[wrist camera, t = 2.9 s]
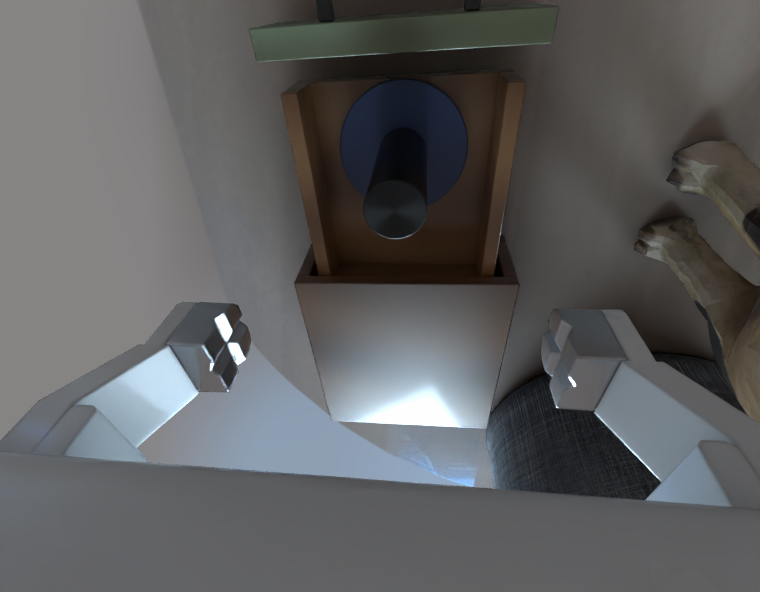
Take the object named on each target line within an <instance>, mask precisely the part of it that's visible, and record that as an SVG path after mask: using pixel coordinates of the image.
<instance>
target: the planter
mask: <svg viewBox="0 0 760 592" xmlns="http://www.w3.org/2000/svg"><path fill="white" fill-rule="evenodd" d="M651 354H652V355H653V357H654V359H655V360H656V362H665V363H666V364H668V365H669V366H671V367H672V368H674V369H675V370H677V371H679V372H680V373H682V374H683V375H685V376H686V377H688V378H690V379H691V380H693V381H694V382H696V383H697V384H699V385H700V386H702V387H704V388H705V389H707V390H708V391H710V392H711V393H713V394H715V395H716V396H718V397H719V398H721V399H722V400H724V401H726V402H727V403H729V404H730V405H732V406H733V407H735V408H736V409H738V410H740V411H741V412H743V413H744V414H746V412H745V410H744V409H743V408H742V406H741V405H740V403H739V402H738V400H737V398H736V397H735V395H734V394H733V392H732V391H731V389H730V387H729V386H728V384H727V382H726V381H725V379H724V377H723V376H722V374H721V371H720V369H719V367H718V364H717V363H715V362H711V361H708V360H704V359H700V358H696V357H690V356H684V355H675V354H660V353H651ZM551 379H552V376H550V375H549V374H548V373H547V374H545V375H543V376H540V377H538V378H536V379H534V380H532V381H530V382H529V383H527V384H525V385H523V386H522V387H520V388H519V389H517V390H516V391H514V392H513V393H512V394H511V395H509V396H508V397H507V398H506V399H505V400H504V401H503V402H502V403H501V404H500V405H499V406H498V407H497V408H496V410H495V411H494V412H493V414H492V416H491V418H490V420H489V422H488V426H487V430H486V439H487V445H488V451H489V457H490V464H491V471H492V480H493V489H505V490H518V491H531V492H544V493H558V494H571V495H584V496H597V497H610V498H624V499H637V500H646V499H647V497H648V496H649V495H650V494H651V493H652V492H653V491H654V490H655V489H656V488H657V486H658V485H659V484H660V483H661V481H660V480H659V479H658V478H657V477H656V476H655V475H654V474H653V473H652V472H651V471H650V470H649V469H648V468H647V467H646V466H645V465H644V464H643V463H642V462H641V461H640V460H639V459H638V458H637V457H636V456H635V455H634V454H633V453H632V451H631V450H630V449H629V448H628V447H627V446H626V445H625V444H624V443H623V442H622V441H621V440H620V439H619V438H618V437H617V436H616V435H615V434H614V433H613V432H612V431H611V430H610V429H609V428H608V427H607V426H606V425H605V424H604V423H603V422H602V421H601V420H600V419H599V418H598V417H597V416H596V414H595V413H594V412H595V411H583V410H570V409H557V408H556V405H555V402H554V399H553V396H552V393H551V389H550V386H549V384H550V382H551ZM746 415H747V414H746ZM747 416H748V415H747Z"/></svg>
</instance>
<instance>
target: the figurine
mask: <svg viewBox="0 0 760 592" xmlns="http://www.w3.org/2000/svg"><path fill="white" fill-rule="evenodd" d="M672 160H673V165H674V168H673V170H672V171H671V173H670V175H669V176H668V178H667V180H666V181H667V182H669V183H671V184H673V185H675V186H676V187H677V188H678V189H679V190H681V191H682V192H684V193H690V194H704V195H706V196H709V197H710V199H711V200H712V201H713V202H714V203H715V204H716V205H717V207H718V208H719V210H720V211H721V213H722V214H723V215H724V217H725V218H726V219H727V220H728V221H729V222H730V223H731V224H732V225H733V227H734V228H735V229H736V231H737V232H738V234H739V235H740V236H741V238H742V239H743V241H744V242H745V243H746V244H747V245H748V246H749V247H750V248H751V249H752V250H753V251H754V253H755V254H756V255H757V256H758V257H759V259H760V169H759V168H758V167H757V166H756V165H755V164H754V163H752V162H751V161H750V160H749V159H748V158H747V157H746V156H745V155H744V153H743V152H742V151H741V150H740V149H739V147H738V146H737V145H736V144H734V143H731V142H728V141H726V140H725V141H706V142H700V143H697V144H695V145H692V146H690V147H688V148H685V149H683V150H680V151H677V152H675V153H673V157H672ZM638 237H639V238H640V240H639V241H638V242H637V243H635V245H634V250H635V251H637V252H639V253H641V254H643V255H646V256H648V257H650V258H652V259H656V260H659V261H663V262H666V263H667V265H668V266H669V267H670V268H671V269H672V270H673V271H674V273H675V274H676V275H677V276H678V277H679V279H680V280H681V282H682V283H683V285H684V286H685V288H686V289H687V291H688V293H689V294H690V296H691V298H692V299H693V301H694V303H695V305H696V306H697V308H698V309H699V311H700V312H701V313H702V315H703V316H704V317H705V319H706V320H707V322H708V328H709V335H710V341H711V345H712V349H713V352H714V356H715V359H716V362H717V364H718V367H719V369H720V371H721V374H722V376H723V377H724V379H725V381H726V382H727V384H728V386H729V387H730V389H731V391H732V392H733V394H734V395H735V397H736V398H737V400H738V402H739V403H740V405H741V406H742V408H743V409H744V410H745V412H746V414H747V415H748V416H749V417H751V418H752V419H754V420H755V421H757V422H758V423H760V286H755V285H753V284H752V283H750V282H749V281H748V280H746V279H745V278H744V277H743V276H741V275H740V274H739V273H738V272H737V271H735V270H734V269H733V268H731V267H730V266H729V265H728V264H727V263H725V262H724V260H723V259H722V258H721V257H720V256H719V255H718V254H717V253H716V252H715V251H714V250H713V249H712V248H711V247H710V245H709V244H708V243H707V242H706V241H705V239H704V238H703V237H702V236H701V235H700V234H699V233H698V230H697V226H696V223H695V219H692V218H685V217H679V218H669V219H664V220H659V221H656V222H654V223H652V224H649V225H647V226H645V227H644V228H642V229H641V230H640V232H639V235H638Z"/></svg>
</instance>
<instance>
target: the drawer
mask: <svg viewBox="0 0 760 592" xmlns="http://www.w3.org/2000/svg"><path fill="white" fill-rule="evenodd" d="M480 5H481V0H464V8H462V9H448V10H435V11H422V12H409V13H396V14H383V15H369V16H356V17H343V18H335V17H334V8H333V0H316V6H317V13H318V19H317V20H304V21H291V22H277V23H273V24H268V25H263V26H259V27H254V28H250V29H249V32H250V36H251V40H252V44H253V49H254V53H255V57H256V61H257V62H268V61H283V60H299V59H315V58H330V57H346V56H362V55H377V54H393V53H409V52H424V51H440V50H456V49H471V48H487V47H503V46H519V45H534V44H550V43H552V42H553V37H554V32H555V27H556V21H557V16H558V11H559V6H558V5H551V4H541V3H527V4H514V5H501V6H488V7H480ZM395 78H414V79H420V80H423V81H426V82H429V83H431V84H433V85H435V86H437V87H438V88H440V89H441V90H442V91H444V92H445V93H446V94H447V95H448V96H449V97H450V98H451V99H452V100H453V102H454V103H455V104H456V106H457V107H458V109H459V111H460V113H461V115H462V117H463V120H464V122H465V126H466V130H467V137H468V152H467V158H466V162H465V165H464V168H463V170H462V173H461V175H460V177H459V178H458V180H457V182H456V183H455V184H454V186H453V187H452V188H451V189H450V190H449V191H448V192H447V193H446V194H445V195H444V196H443V197H442V198H440V199H439V200H437V201H436V202H434V203H432V204H430V205H428V206H427V216H426V219H425V222H424V224H423V225H422V227H421V228H420V229H419V230H418V231H417V232H415V233H414V234H412V235H410V236H408V237H405V238H401V239H391V238H386V237H383V236H381V235H379V234H377V233H376V232H374V231H373V230H372V229H371V228H370V227H369V225H368V224H367V222H366V220H365V218H364V214H363V203H364V199H365V197H364V196H363V195H361V194H360V193H359V192H358V191H357V190H356V188H355V187H354V186H353V185H352V183H351V182H350V180H349V178H348V177H347V174H346V172H345V170H344V167H343V164H342V160H341V155H340V136H341V131H342V127H343V124H344V121H345V119H346V116H347V114H348V112H349V111H350V109H351V108H352V106H353V105H354V103H355V102H356V101H357V100H358V98H359V97H360V96H361V95H362V94H364V93H365V92H366V91H367V90H368V89H370V88H372V87H373V86H375V85H377V84H379V83H381V82H383V81H387V80H390V79H395ZM525 87H526V81H525V80H524V79H523V78H522V77H521V76H520V75H518V74H517V73H516V72H515V70H513V69H495V70H478V71H460V72H443V73H425V74H408V75H390V76H373V77H355V78H338V79H320V80H302V81H298V82H297V83H295V84H294V85H293V86H291V87H290V88H289V89H287V90H286V91H284V92H283V93H282V94H281V99H282V104H283V109H284V113H285V118H286V123H287V127H288V132H289V137H290V142H291V146H292V151H293V156H294V161H295V165H296V170H297V175H298V179H299V184H300V189H301V194H302V198H303V203H304V208H305V213H306V217H307V222H308V227H309V231H310V236H311V241H312V246H313V250H314V255H315V260H316V265H317V269H318V274H319V276H429V277H494V271H495V265H496V260H497V254H498V248H499V242H500V236H501V230H502V224H503V218H504V212H505V206H506V200H507V194H508V188H509V182H510V176H511V170H512V164H513V158H514V153H515V147H516V141H517V135H518V129H519V123H520V117H521V111H522V105H523V99H524V93H525Z"/></svg>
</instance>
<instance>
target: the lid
mask: <svg viewBox="0 0 760 592" xmlns="http://www.w3.org/2000/svg"><path fill="white" fill-rule="evenodd" d="M467 152H468V137H467V130H466V126H465V122H464V120H463V117H462V115H461V113H460V111H459V109H458V107H457V106H456V104H455V103H454V102H453V100H452V99H451V98H450V97H449V96H448V95H447V94H446V93H445V92H444V91H442V90H441V89H440V88H438V87H437V86H435V85H433V84H431V83H429V82H426V81H423V80H420V79H414V78H395V79H390V80H387V81H383V82H381V83H379V84H377V85H375V86H373V87H372V88H370V89H368V90H367V91H366V92H365V93H364V94H362V95H361V96H360V97H359V98H358V100H357V101H356V102H355V103H354V105H353V106H352V108H351V109H350V111H349V112H348V114H347V116H346V119H345V121H344V124H343V127H342V131H341V136H340V155H341V160H342V164H343V167H344V170H345V172H346V174H347V177H348V178H349V180H350V182H351V183H352V185H353V186H354V187H355V188H356V190H357V191H358V192H359V193H360V194H361V195H363V196H364V197H365V199H364V203H363V214H364V218H365V220H366V222H367V224H368V225H369V227H370V228H371V229H372V230H373V231H374V232H376V233H377V234H379V235H381V236H383V237H386V238H391V239H401V238H405V237H408V236H410V235H412V234H414V233H415V232H417V231H418V230H419V229H420V228H421V227H422V225H423V224H424V222H425V219H426V216H427V206H428V205H430V204H432V203H434V202H436V201H437V200H439V199H440V198H442V197H443V196H444V195H445V194H446V193H447V192H448V191H449V190H450V189H451V188H452V187H453V186H454V184H455V183H456V182H457V180H458V178H459V177H460V175H461V173H462V170H463V168H464V165H465V162H466V158H467Z"/></svg>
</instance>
